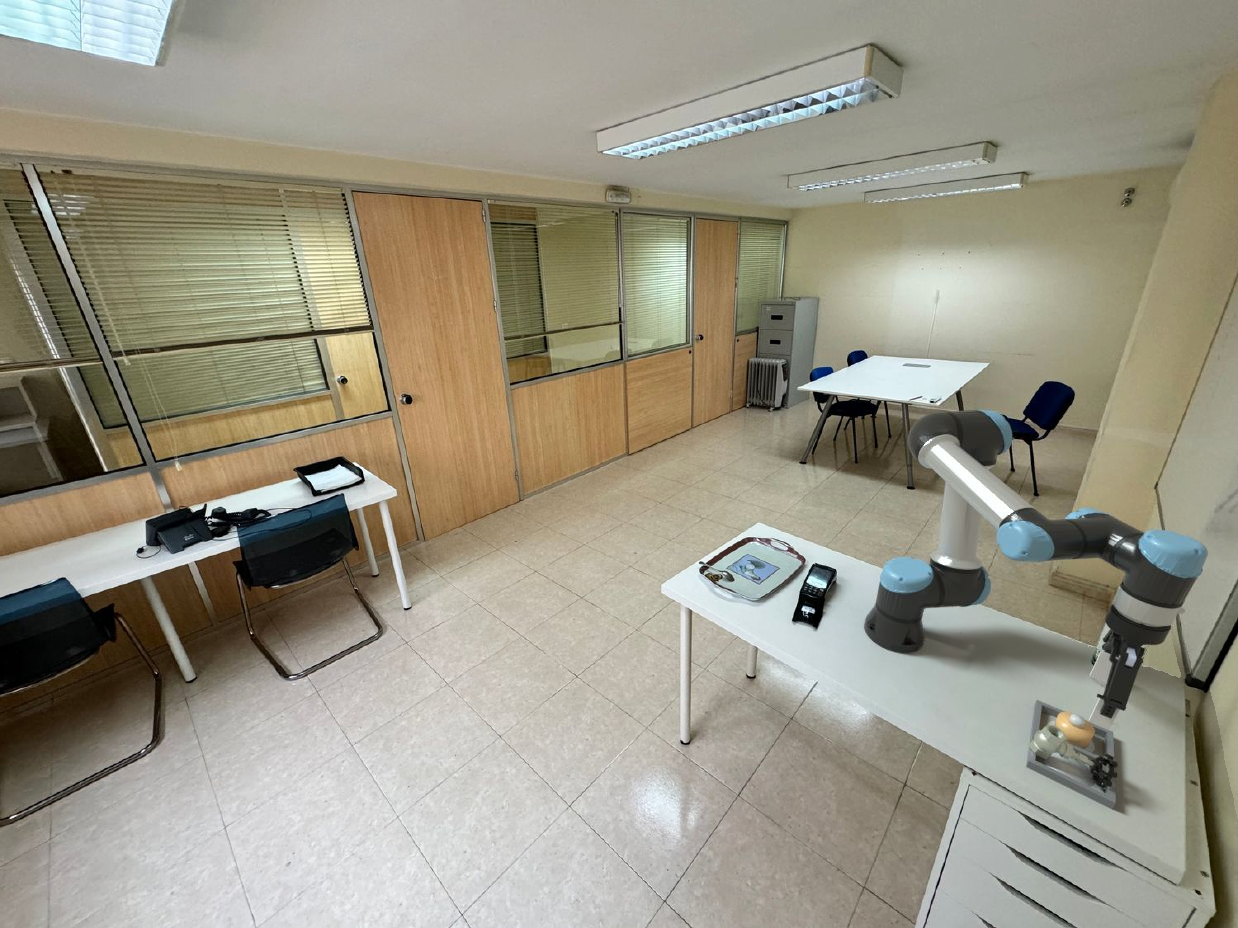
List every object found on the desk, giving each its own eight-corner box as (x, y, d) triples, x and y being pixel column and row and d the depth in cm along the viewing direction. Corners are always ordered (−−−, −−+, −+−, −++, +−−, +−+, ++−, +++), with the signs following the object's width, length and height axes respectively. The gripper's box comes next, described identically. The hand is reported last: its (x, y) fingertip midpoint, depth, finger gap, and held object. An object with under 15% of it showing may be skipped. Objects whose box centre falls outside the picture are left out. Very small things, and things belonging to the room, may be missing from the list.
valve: (1028, 756, 100) (1101, 795, 95) (1044, 738, 97) (1121, 777, 91) (1026, 732, 105) (1095, 767, 99) (1042, 714, 102) (1115, 749, 96)
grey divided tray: (1025, 769, 100) (1028, 760, 100) (1033, 707, 114) (1036, 699, 113) (1110, 811, 92) (1115, 803, 91) (1109, 739, 106) (1113, 731, 105)
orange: (1051, 737, 106) (1059, 719, 104) (1053, 719, 110) (1060, 701, 108) (1088, 754, 102) (1097, 736, 100) (1088, 735, 106) (1097, 717, 104)
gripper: (1180, 666, 73) (1128, 759, 82) (1165, 587, 90) (1123, 671, 98) (1113, 643, 78) (1070, 733, 87) (1110, 572, 95) (1075, 653, 103)
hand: (1098, 700), depth 93 cm, fingers open, 13 cm apart
